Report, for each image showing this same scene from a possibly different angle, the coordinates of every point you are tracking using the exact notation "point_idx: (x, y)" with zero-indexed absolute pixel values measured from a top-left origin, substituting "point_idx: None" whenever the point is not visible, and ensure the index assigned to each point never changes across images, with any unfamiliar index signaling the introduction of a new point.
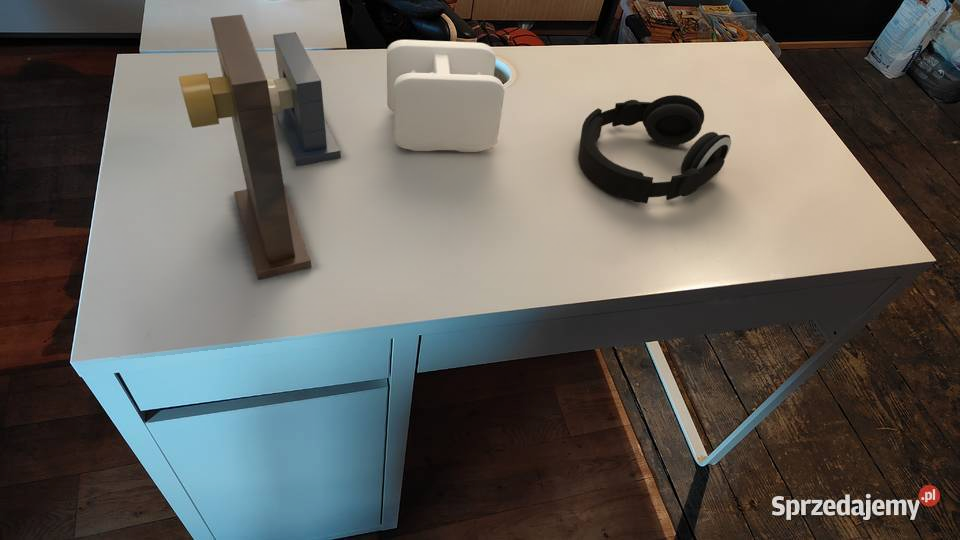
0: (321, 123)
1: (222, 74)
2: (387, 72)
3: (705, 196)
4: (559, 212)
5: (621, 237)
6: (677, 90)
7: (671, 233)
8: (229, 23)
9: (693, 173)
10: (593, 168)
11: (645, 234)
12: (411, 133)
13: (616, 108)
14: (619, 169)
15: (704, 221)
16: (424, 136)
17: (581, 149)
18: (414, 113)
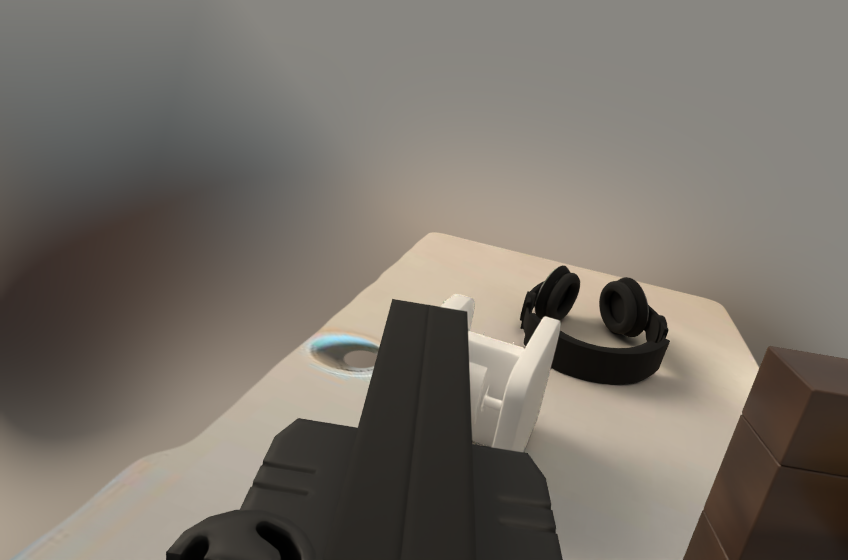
0: None
1: (748, 548)
2: None
3: (640, 340)
4: (663, 427)
5: (708, 408)
6: (468, 280)
7: (699, 379)
8: (837, 372)
9: (664, 317)
10: (614, 366)
11: (701, 393)
12: None
13: (528, 307)
14: (644, 349)
15: (679, 356)
16: None
17: (579, 357)
18: (525, 425)
